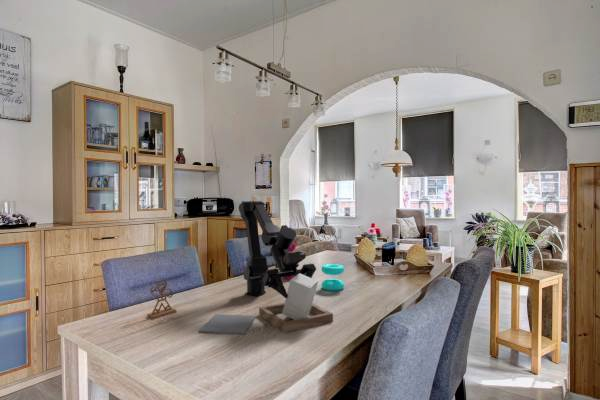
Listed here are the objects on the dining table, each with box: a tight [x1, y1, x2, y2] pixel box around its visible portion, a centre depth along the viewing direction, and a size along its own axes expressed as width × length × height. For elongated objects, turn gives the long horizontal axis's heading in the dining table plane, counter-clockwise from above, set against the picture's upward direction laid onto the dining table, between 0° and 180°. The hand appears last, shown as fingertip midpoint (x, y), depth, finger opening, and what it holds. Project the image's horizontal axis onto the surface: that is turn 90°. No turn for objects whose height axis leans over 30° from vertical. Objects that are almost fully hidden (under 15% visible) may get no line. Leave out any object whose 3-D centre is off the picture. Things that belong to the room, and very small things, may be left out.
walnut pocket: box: [258, 302, 334, 334], centre depth 114 cm, size 18×18×2 cm
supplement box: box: [281, 273, 319, 320], centre depth 112 cm, size 7×7×13 cm
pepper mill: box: [283, 241, 298, 281], centre depth 169 cm, size 7×7×20 cm
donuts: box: [321, 263, 345, 291], centre depth 151 cm, size 10×10×10 cm
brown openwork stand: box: [146, 279, 177, 320], centre depth 118 cm, size 9×4×12 cm, turn 143°
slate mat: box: [198, 313, 257, 335], centre depth 108 cm, size 14×14×1 cm
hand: (299, 295), depth 112 cm, fingers closed on supplement box, 9 cm apart
